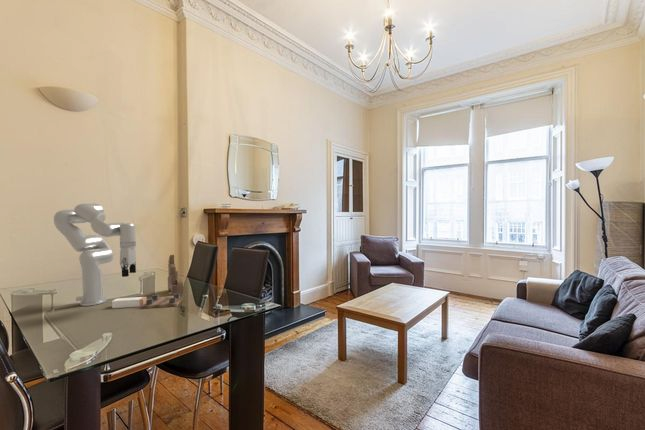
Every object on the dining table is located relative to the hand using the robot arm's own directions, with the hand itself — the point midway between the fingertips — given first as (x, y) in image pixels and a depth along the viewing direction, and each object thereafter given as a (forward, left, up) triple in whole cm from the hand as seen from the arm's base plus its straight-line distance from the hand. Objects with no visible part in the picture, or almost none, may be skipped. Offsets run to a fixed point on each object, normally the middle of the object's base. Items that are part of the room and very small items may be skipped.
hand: (129, 274), depth 174 cm
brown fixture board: (+18, 0, -18) cm, 25 cm away
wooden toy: (+18, +24, -18) cm, 35 cm away
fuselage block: (0, 0, -18) cm, 18 cm away
